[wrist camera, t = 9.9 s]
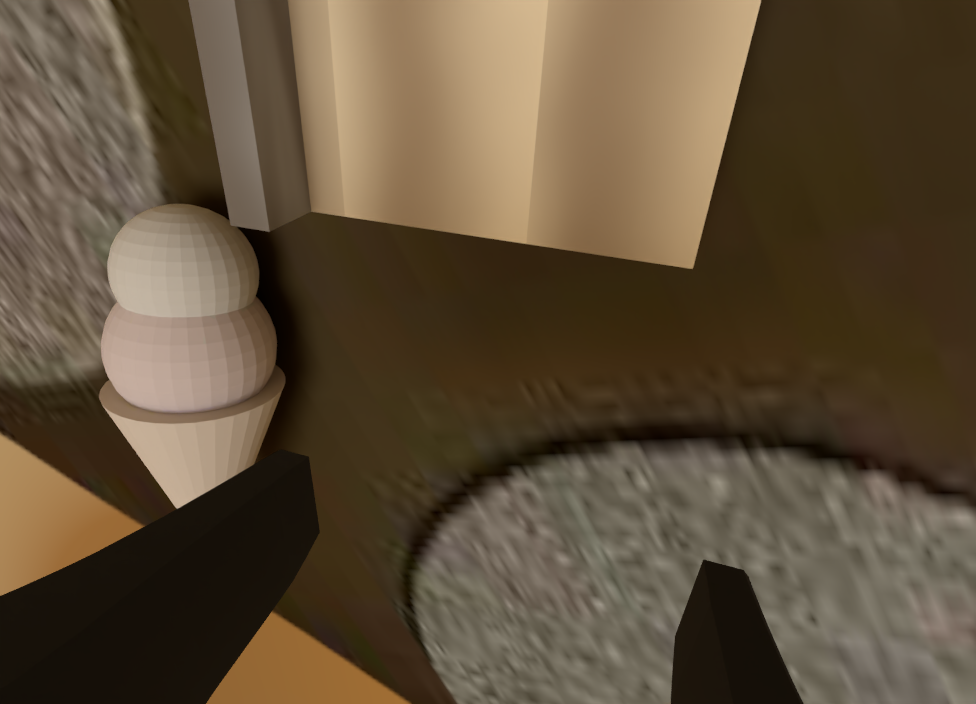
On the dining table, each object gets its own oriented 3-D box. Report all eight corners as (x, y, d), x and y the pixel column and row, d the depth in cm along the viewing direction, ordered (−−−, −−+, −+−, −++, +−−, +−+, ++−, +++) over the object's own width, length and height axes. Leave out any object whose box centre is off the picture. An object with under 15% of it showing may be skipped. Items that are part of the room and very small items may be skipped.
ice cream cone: (270, 502, 28) (254, 193, 22) (310, 584, 23) (303, 221, 18) (125, 542, 25) (65, 188, 19) (139, 646, 20) (66, 221, 14)
